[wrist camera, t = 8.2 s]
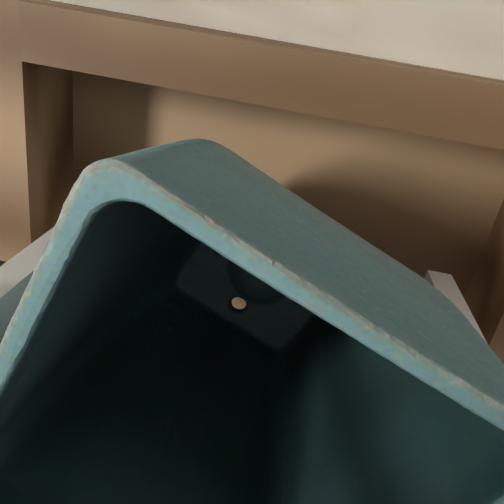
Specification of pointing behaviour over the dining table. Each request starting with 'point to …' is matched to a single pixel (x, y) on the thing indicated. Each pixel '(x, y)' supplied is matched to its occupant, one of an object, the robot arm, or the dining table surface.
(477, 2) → the dining table surface
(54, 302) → the flower pot
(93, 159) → the wooden divided tray
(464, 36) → the dining table surface
